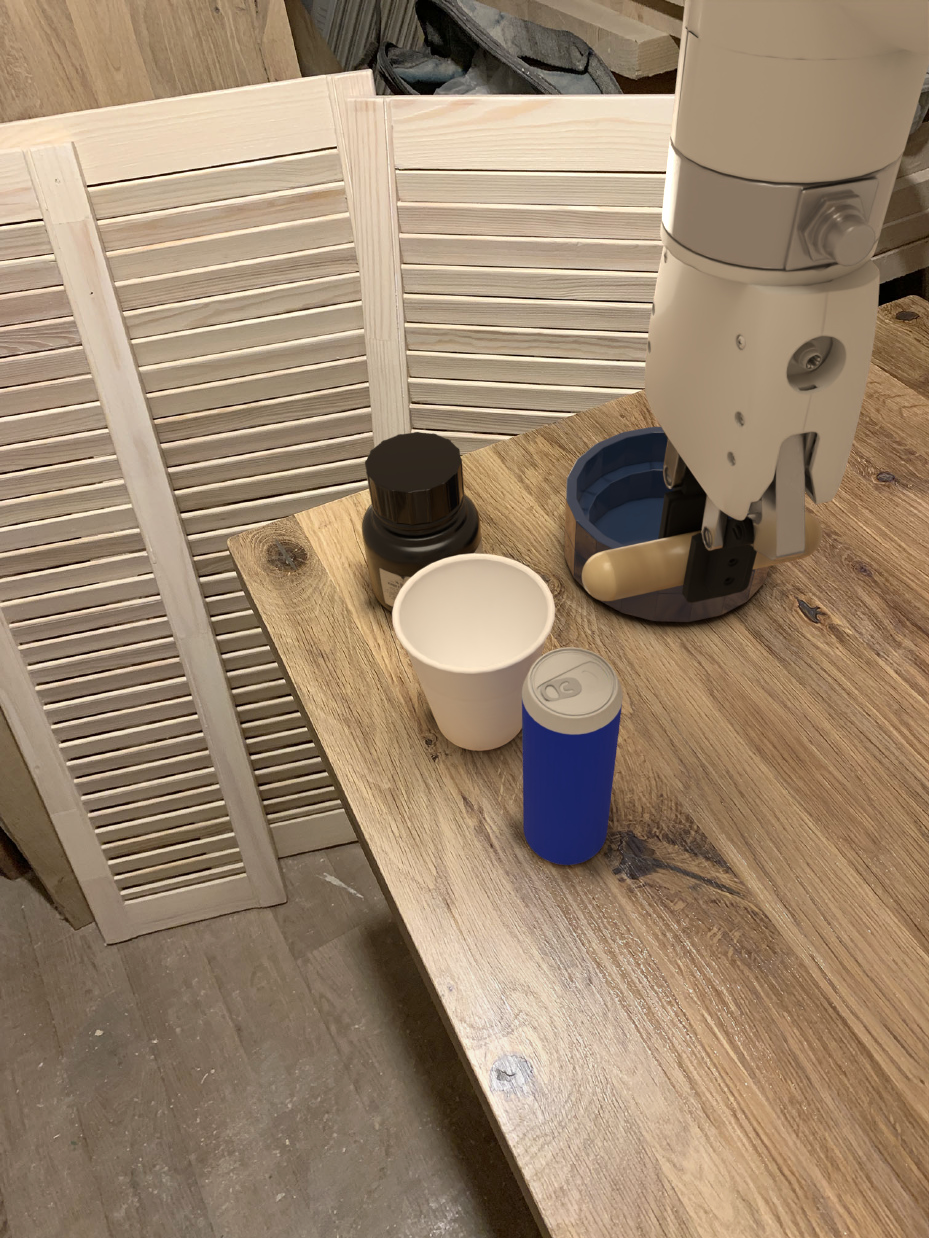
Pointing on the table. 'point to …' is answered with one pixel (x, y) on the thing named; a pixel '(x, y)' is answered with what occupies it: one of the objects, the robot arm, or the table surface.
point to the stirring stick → (662, 564)
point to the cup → (474, 642)
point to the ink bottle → (415, 510)
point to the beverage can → (569, 753)
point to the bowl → (631, 520)
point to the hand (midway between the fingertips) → (701, 569)
